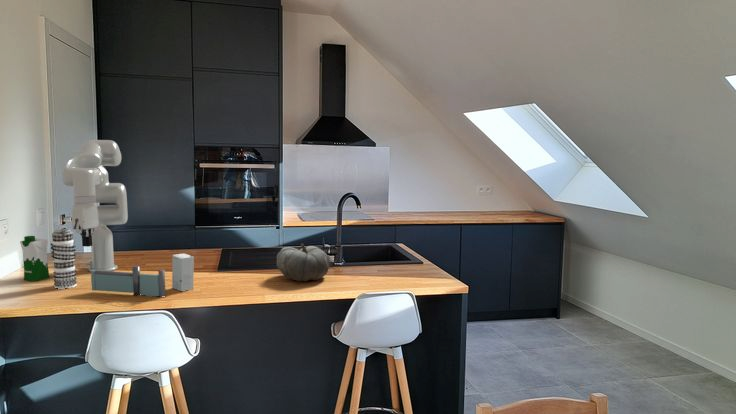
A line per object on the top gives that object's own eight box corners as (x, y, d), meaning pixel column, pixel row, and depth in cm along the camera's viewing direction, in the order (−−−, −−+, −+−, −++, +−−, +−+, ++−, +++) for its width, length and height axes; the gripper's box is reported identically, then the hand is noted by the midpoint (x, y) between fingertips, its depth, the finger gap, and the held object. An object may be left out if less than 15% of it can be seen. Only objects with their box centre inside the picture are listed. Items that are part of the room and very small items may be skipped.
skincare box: (171, 288, 221) (170, 254, 219) (184, 285, 226) (183, 252, 224) (182, 292, 216) (181, 258, 214) (195, 289, 220) (194, 255, 218)
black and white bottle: (51, 285, 222) (48, 229, 219) (76, 282, 228) (72, 227, 225) (54, 290, 215) (50, 232, 212) (79, 287, 221) (76, 230, 217)
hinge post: (132, 295, 210) (130, 267, 208) (136, 293, 213) (134, 265, 211) (138, 296, 210) (137, 267, 208) (142, 294, 212) (141, 266, 211)
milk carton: (20, 280, 230) (17, 236, 227) (39, 275, 238) (36, 233, 236) (34, 282, 227) (31, 238, 224) (53, 277, 235) (50, 234, 233)
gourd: (263, 273, 238) (270, 237, 237) (300, 271, 258) (307, 238, 257) (300, 288, 223) (308, 250, 222) (337, 285, 243) (344, 250, 242)
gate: (134, 291, 212) (133, 272, 211) (131, 292, 210) (131, 273, 209) (94, 289, 215) (93, 269, 214) (91, 290, 213) (90, 270, 212)
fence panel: (139, 296, 210) (138, 270, 208) (143, 294, 212) (142, 268, 211) (163, 297, 208) (162, 271, 207) (166, 296, 210) (165, 270, 209)
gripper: (89, 198, 209) (91, 242, 211) (62, 202, 195) (65, 249, 197) (106, 198, 208) (108, 243, 210) (80, 202, 193) (82, 250, 196)
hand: (87, 245), depth 203 cm, fingers closed
